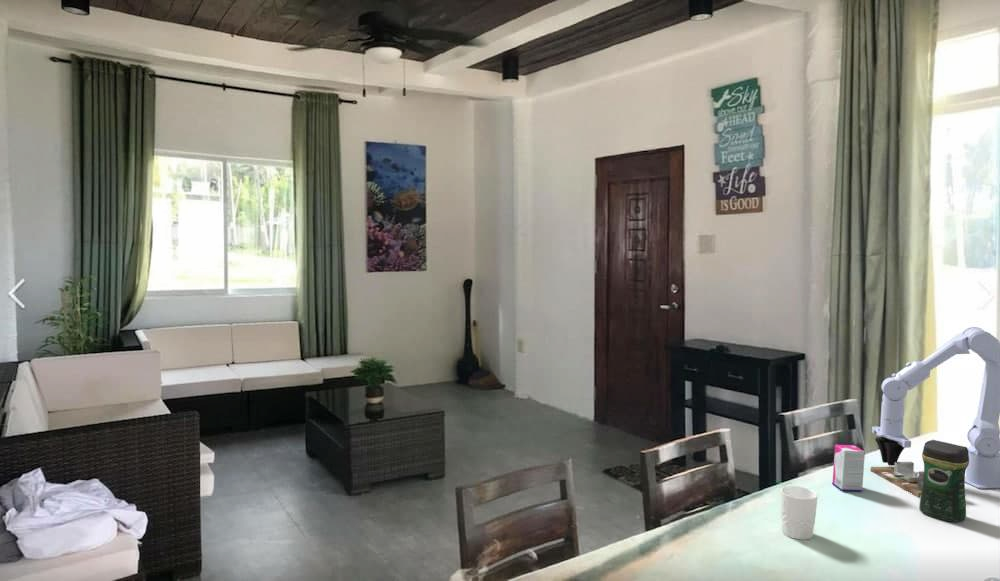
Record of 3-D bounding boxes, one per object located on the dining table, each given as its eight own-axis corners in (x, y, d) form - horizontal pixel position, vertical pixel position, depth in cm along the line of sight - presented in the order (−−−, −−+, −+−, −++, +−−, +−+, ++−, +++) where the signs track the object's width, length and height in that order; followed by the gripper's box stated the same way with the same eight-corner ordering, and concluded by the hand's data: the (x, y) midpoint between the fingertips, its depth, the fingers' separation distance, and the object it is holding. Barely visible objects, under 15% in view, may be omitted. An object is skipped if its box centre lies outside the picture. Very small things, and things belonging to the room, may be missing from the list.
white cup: (799, 544, 154) (801, 501, 153) (771, 530, 161) (773, 489, 160) (823, 536, 157) (825, 495, 156) (794, 523, 164) (796, 483, 163)
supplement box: (863, 492, 185) (865, 451, 184) (841, 491, 185) (843, 450, 184) (852, 484, 190) (854, 444, 189) (831, 483, 190) (833, 444, 189)
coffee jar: (970, 517, 168) (975, 445, 167) (957, 525, 164) (962, 451, 162) (927, 505, 176) (931, 435, 174) (913, 512, 171) (918, 440, 170)
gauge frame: (870, 470, 201) (871, 451, 200) (902, 470, 202) (903, 450, 201) (918, 497, 181) (919, 475, 180) (953, 496, 182) (954, 474, 181)
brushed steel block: (885, 474, 194) (886, 462, 194) (910, 473, 195) (911, 461, 194) (905, 485, 186) (906, 472, 186) (930, 484, 187) (931, 471, 186)
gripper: (863, 412, 206) (861, 455, 207) (895, 426, 191) (892, 472, 193) (885, 412, 206) (882, 455, 208) (919, 425, 192) (916, 472, 193)
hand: (889, 463), depth 200 cm, fingers closed
